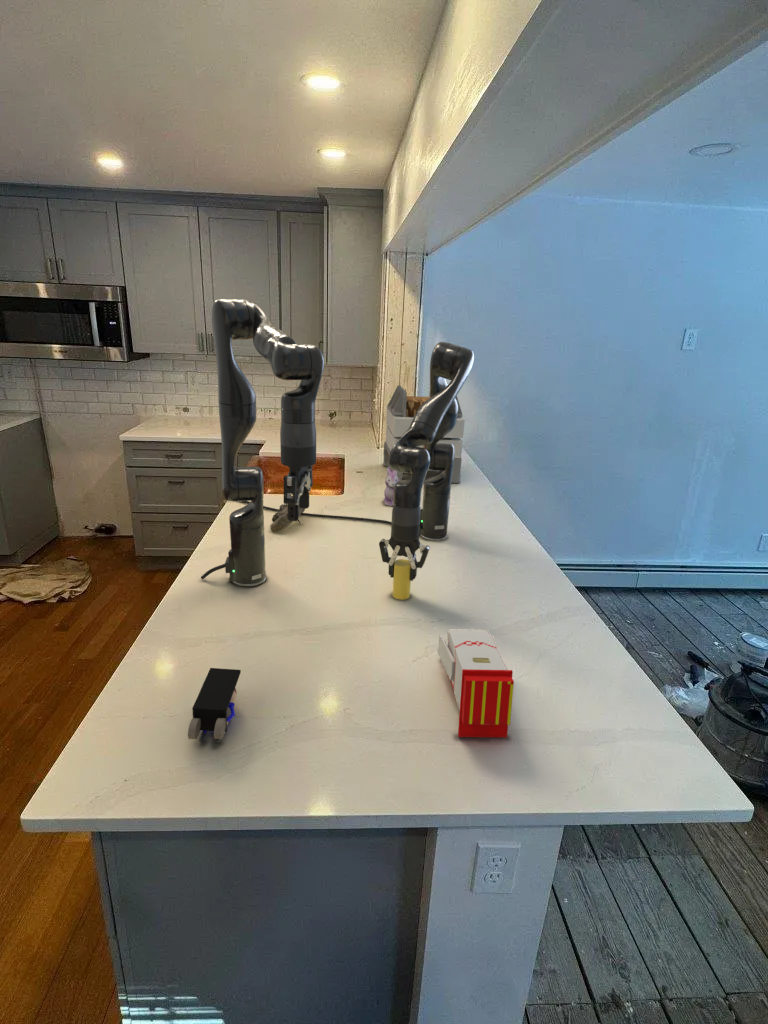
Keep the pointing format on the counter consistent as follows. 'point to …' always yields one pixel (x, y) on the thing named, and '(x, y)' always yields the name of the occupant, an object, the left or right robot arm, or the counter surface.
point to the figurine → (390, 486)
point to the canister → (401, 579)
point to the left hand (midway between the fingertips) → (299, 513)
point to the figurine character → (214, 704)
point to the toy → (478, 682)
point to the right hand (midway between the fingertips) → (402, 577)
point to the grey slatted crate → (400, 420)
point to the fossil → (283, 518)
